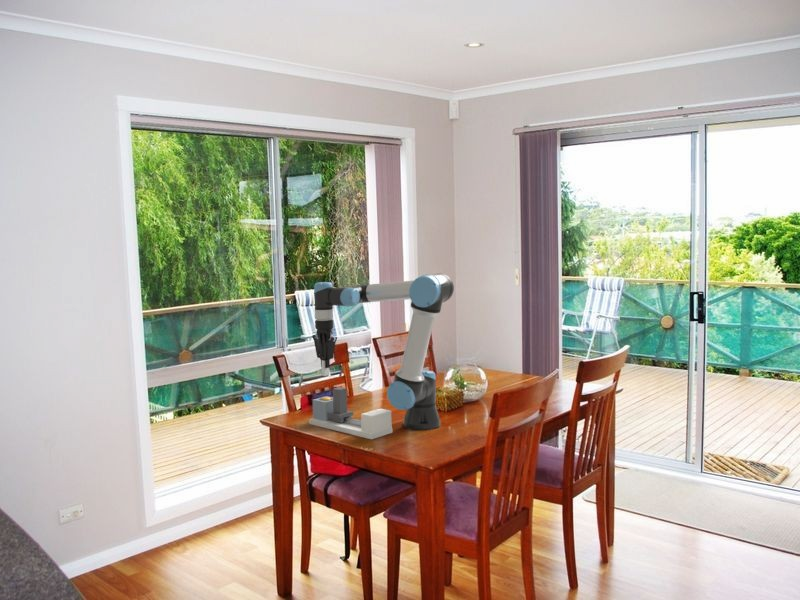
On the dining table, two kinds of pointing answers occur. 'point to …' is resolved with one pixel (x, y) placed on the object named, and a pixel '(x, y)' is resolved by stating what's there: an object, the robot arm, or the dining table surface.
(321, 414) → the gauge cabinet
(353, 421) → the rail bar
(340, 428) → the rail track
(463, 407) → the dining table surface
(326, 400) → the button
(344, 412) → the carriage
